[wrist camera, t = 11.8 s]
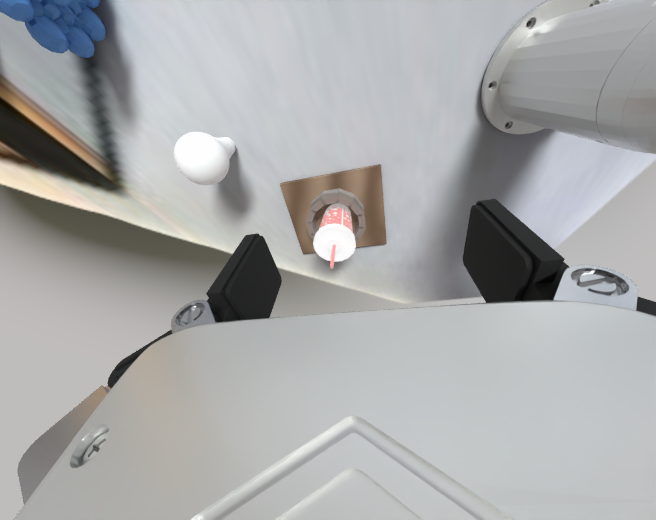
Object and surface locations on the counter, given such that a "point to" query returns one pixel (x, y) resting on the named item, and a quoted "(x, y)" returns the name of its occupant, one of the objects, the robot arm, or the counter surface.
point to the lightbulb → (203, 157)
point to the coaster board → (346, 181)
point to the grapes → (59, 23)
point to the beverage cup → (335, 235)
